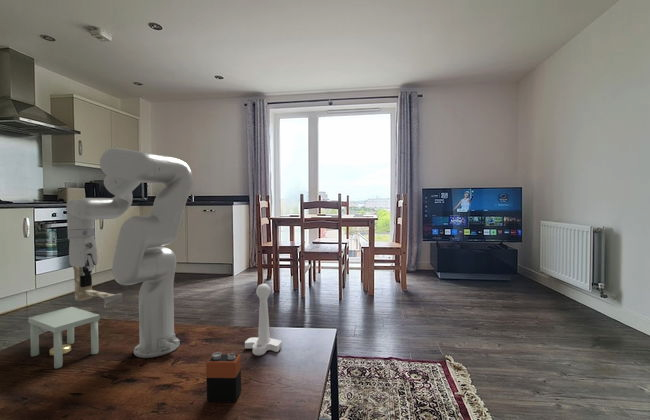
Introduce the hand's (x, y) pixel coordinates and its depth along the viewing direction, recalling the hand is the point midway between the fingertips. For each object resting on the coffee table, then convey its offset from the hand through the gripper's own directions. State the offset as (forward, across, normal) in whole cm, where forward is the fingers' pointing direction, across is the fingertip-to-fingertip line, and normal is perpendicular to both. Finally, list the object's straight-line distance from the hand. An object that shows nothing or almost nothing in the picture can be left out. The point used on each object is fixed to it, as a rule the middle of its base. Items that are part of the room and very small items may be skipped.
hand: (83, 285), depth 109 cm
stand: (+17, -13, +11) cm, 24 cm away
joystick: (+18, -65, -18) cm, 70 cm away
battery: (+18, -72, +4) cm, 75 cm away
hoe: (+5, -9, 0) cm, 10 cm away
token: (+17, -10, +11) cm, 23 cm away
